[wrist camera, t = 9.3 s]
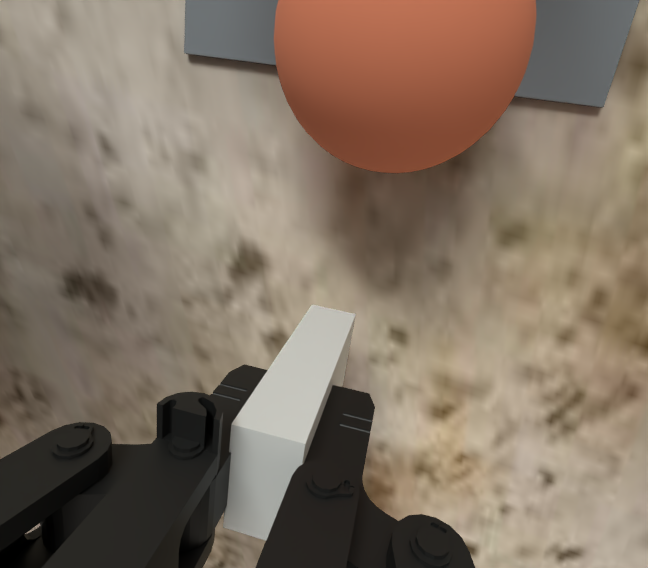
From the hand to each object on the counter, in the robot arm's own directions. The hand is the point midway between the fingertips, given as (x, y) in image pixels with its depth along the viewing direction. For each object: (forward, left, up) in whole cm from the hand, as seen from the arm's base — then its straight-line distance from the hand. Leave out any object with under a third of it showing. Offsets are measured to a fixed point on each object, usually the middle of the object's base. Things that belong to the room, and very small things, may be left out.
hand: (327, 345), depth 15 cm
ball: (+1, +9, +1) cm, 9 cm away
